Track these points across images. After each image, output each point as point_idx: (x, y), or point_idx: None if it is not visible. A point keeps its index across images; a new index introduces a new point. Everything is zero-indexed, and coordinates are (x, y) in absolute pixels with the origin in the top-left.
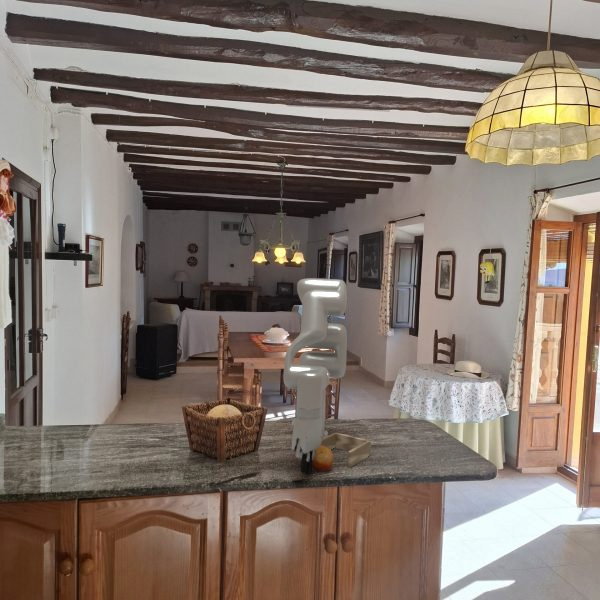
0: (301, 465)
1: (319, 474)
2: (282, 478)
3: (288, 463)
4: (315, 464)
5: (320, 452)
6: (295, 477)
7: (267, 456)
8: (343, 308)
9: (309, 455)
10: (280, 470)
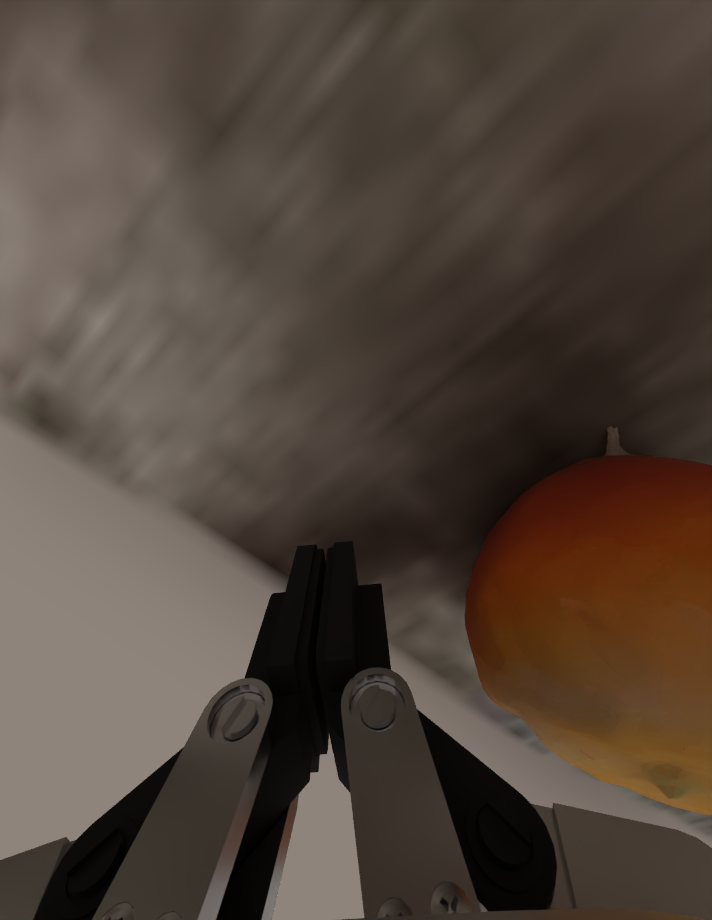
0: (286, 597)
1: (449, 597)
2: (126, 443)
3: (493, 172)
4: (468, 633)
5: (656, 764)
6: (245, 508)
7: None
8: None
9: (270, 899)
10: (243, 272)
